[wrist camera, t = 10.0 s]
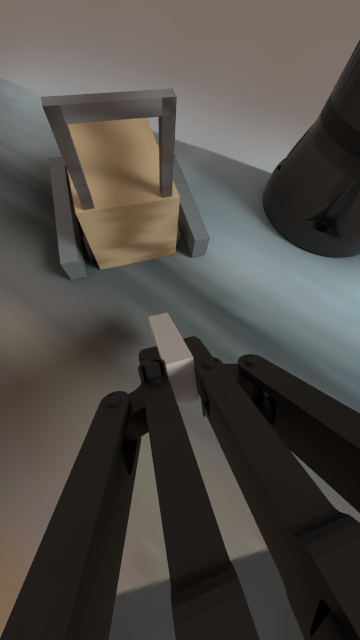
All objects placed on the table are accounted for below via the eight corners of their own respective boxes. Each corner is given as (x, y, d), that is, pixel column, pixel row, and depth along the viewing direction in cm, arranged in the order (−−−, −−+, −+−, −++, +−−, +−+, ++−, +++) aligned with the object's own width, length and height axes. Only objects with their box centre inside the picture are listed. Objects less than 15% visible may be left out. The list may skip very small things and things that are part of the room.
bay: (170, 167, 29) (170, 146, 27) (204, 254, 24) (209, 238, 22) (58, 180, 26) (48, 158, 24) (71, 280, 22) (60, 264, 19)
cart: (152, 179, 28) (145, 7, 16) (180, 253, 24) (198, 97, 12) (78, 190, 26) (7, 7, 14) (94, 271, 22) (15, 110, 10)
